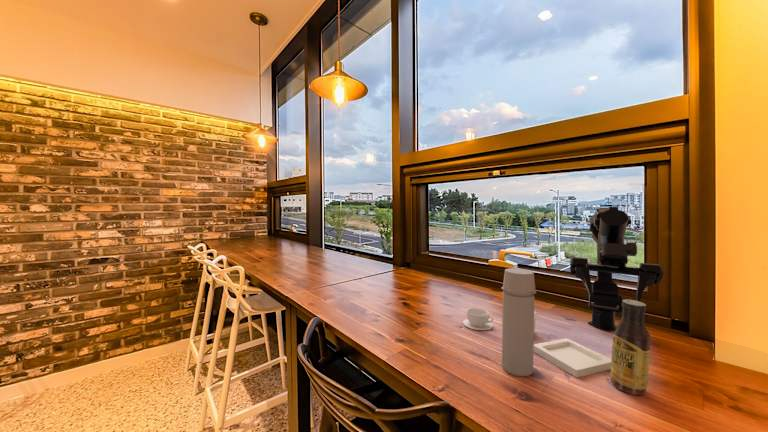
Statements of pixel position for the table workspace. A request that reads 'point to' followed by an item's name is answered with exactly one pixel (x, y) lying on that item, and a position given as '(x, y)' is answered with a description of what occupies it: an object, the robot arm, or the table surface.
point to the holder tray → (572, 357)
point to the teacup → (478, 319)
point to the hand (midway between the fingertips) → (613, 299)
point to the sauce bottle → (631, 350)
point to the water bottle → (518, 321)
